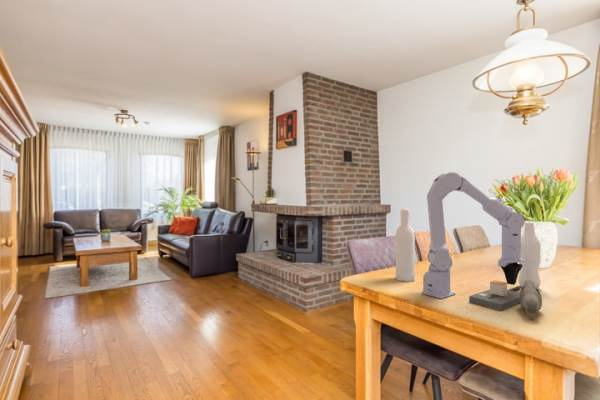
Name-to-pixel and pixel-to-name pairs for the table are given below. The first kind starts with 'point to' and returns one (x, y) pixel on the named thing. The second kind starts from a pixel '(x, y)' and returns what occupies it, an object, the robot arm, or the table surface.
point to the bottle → (405, 249)
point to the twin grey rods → (515, 288)
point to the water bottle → (530, 256)
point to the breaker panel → (495, 299)
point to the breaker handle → (498, 288)
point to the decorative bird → (530, 299)
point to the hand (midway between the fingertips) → (511, 284)
